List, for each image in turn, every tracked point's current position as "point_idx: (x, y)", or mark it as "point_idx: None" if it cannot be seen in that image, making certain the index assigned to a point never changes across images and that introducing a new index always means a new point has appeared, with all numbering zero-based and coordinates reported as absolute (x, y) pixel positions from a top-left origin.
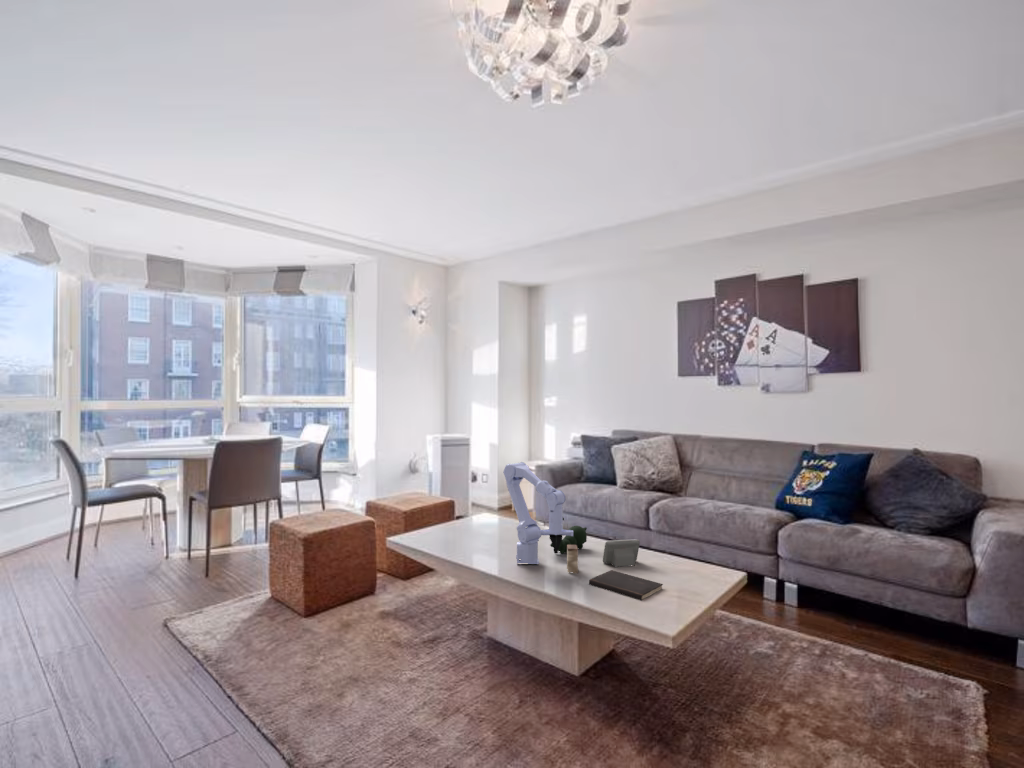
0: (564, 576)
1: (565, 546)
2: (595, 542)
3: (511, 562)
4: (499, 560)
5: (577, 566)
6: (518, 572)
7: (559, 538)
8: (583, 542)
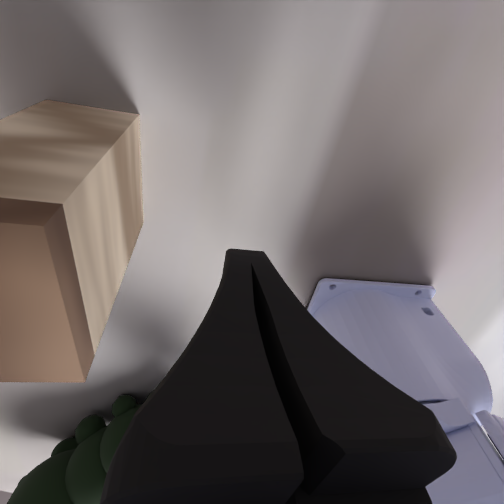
0: (179, 17)
1: None
2: (11, 479)
3: None
4: (472, 337)
5: (15, 114)
6: (499, 170)
7: (208, 444)
8: (33, 470)
